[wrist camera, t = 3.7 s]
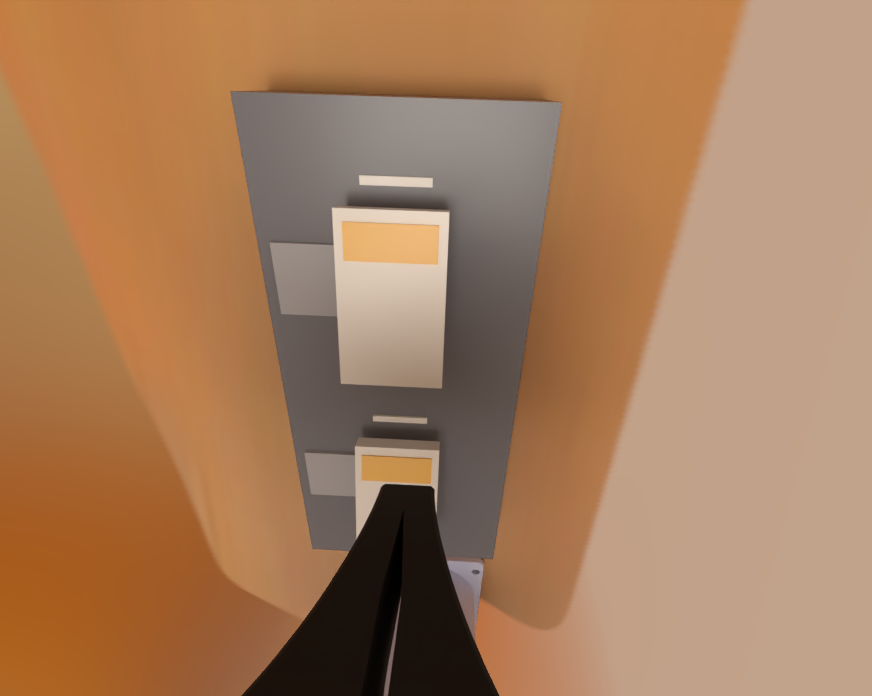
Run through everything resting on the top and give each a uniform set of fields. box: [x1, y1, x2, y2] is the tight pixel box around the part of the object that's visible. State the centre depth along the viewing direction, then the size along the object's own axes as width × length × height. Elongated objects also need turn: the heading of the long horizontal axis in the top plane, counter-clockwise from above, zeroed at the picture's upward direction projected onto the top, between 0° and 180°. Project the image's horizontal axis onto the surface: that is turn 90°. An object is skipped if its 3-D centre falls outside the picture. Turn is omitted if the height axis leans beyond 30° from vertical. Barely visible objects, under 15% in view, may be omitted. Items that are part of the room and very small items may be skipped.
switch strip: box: [231, 91, 562, 559], centre depth 20 cm, size 22×10×3 cm, turn 178°
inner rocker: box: [355, 437, 440, 539], centre depth 20 cm, size 6×4×1 cm, turn 179°
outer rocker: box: [332, 206, 450, 389], centre depth 15 cm, size 6×4×1 cm, turn 179°
